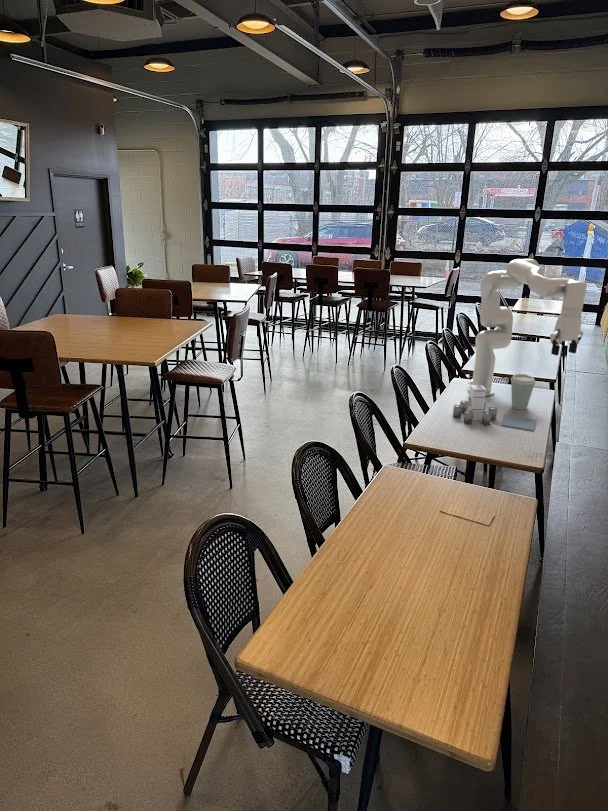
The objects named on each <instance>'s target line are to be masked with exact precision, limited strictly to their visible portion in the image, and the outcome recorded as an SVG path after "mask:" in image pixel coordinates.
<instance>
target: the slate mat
mask: <svg viewBox="0 0 608 811" xmlns="http://www.w3.org/2000/svg"><path fill="white" fill-rule="evenodd" d="M536 423H537V422H536V419H532V418H525V417H519V416H514V415H508V414H504V416H503V418H502V421H501V423H500V424H501V425H500V426H501V427H506V428H511V429H517V430H523V431H528V430H530V431H529V432H534V431H535V426H536Z"/></svg>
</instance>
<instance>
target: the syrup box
mask: <svg viewBox="0 0 608 811" xmlns="http://www.w3.org/2000/svg"><path fill="white" fill-rule="evenodd" d="M469 387H470V391H469V392H468V400H467V401H468V408H467V410H469V411H473V412H474V413H473V420H472V421H482V415H483V411H484V403H486V396H485V395H486V389H485V388H484V387H483V385H471V384H469Z"/></svg>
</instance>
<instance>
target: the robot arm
mask: <svg viewBox="0 0 608 811" xmlns="http://www.w3.org/2000/svg"><path fill="white" fill-rule="evenodd" d="M544 272H545V271H544V269H543V268H542V266H541V267H540V264H539V263H538V261H537V260H536V259H533V258H516V259H513V260H511V261H509V263H508V264H507V266H506V268H505V270H492V271H490V272H486V274H485V275H484V276H482V279H481V280H480V293H481V294H480V295H481V302H480V314H479V315H480V316H479V319H480V320H479V322H480V324H481V326H483V327H484V328H496V329H487V330H486V329H485V330H481V331H480V332H478V333H477V334H476V335H475V357H474V365H473V366H474V367H473V371H472V372H473V373H472V379H470V380H468V382H467V384H469V385H483V387H484V388H485V389H486V395H485V397H487V396H493V395H494V394H495V390H493V389H492V385H493V380H494V379H493V378H494V372H495V367H496V355H495V352H494V350H498V349H499V350H501V349H505V348H508V347H509V345H511V342H512V338H513V337H512V335H513V324H514V316H513V312H512V310H511V309H510V308H509V307H507V306H501V304H500V303H501V296H500V294H499V292H498V291H497V290H514V289H518V288H519V287H521V286H522V285H524V284H525V285H528V288H529V290H530V291H532V293H534V294H536V295H539V296H541V297H544V298H563V299H562V304H561V309H560V310H561V311H560V315H558V318H557V320H556V323H555V325H554V330H553V333H551V334H550V335H549V338H550V343H551V345H552V346H551V351H550V352H551V353H550V354H551V355H554V356H559V353H560V348H561V346H560V345H561V343H562V342H568V341H571V342H569V347H568V353H571V354H576V353H577V350H578V345H579V344H580V341H581V340H582V337H583V336H584V332H583V331H582V330H581V327H582V313H583V308H584V302H585V297H586V293H587V286H588V285H587V283H586V282H585V281H581V280H575V279H572V278H569V277H555V278H553V277H552V278H548V277H545V276H544V275H545V273H544ZM469 391H470V386H469V387H468V388H467V392H468V393H469Z"/></svg>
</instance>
